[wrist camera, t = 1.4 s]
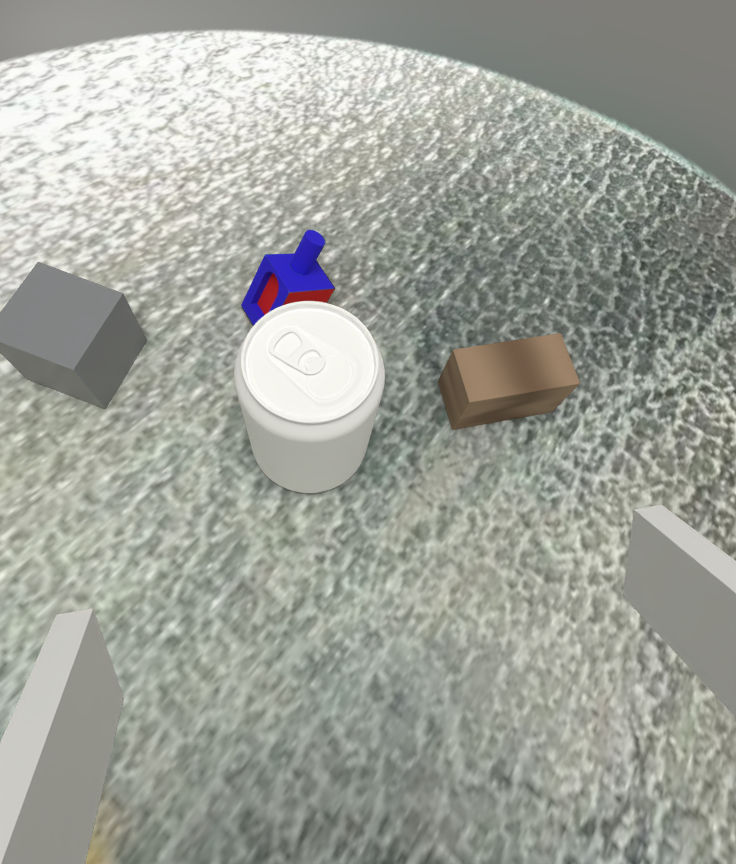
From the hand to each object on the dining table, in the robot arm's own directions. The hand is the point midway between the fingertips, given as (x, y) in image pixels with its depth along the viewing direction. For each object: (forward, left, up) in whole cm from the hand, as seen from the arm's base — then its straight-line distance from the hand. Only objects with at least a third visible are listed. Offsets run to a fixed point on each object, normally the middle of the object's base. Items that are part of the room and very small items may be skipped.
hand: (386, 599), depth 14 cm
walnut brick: (-2, +21, -24) cm, 32 cm away
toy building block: (-19, +16, -24) cm, 34 cm away
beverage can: (-10, +9, -24) cm, 28 cm away
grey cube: (-26, +3, -24) cm, 36 cm away
